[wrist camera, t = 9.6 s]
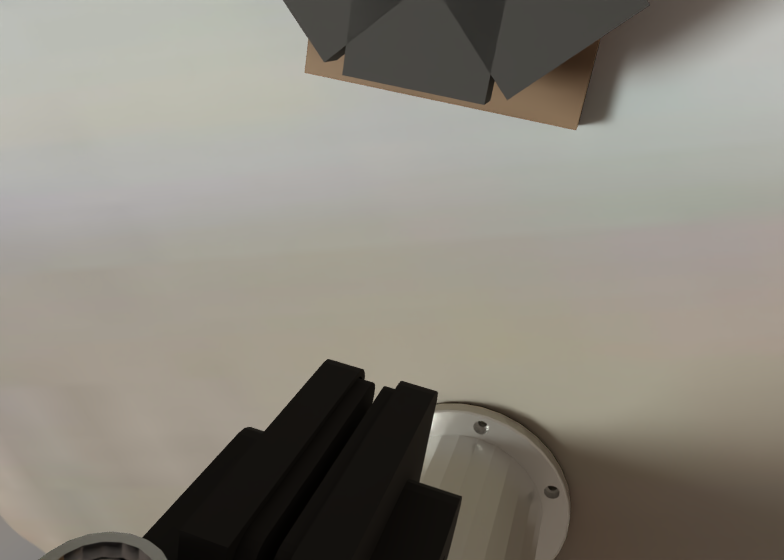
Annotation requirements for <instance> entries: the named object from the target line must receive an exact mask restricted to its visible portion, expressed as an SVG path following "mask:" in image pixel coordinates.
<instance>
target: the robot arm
mask: <svg viewBox="0 0 784 560" xmlns="http://www.w3.org/2000/svg"><path fill="white" fill-rule="evenodd" d="M364 379H365V372H364V370H363V369H360V368H357V367H354V366H350V365H347V364H344V363H340V362H337V361H333V360H330V359H327V360H326V361H325V362H324V363H323V364H322V365H321V366H320V367H319V369H318V370H317V371H316V372H315V373H314V374H313V376H312V377H311V378H310V379H309V380H308V381H307V383H306V384H305V385H304V386H303V387H302V388H301V389H300V391H299V392H298V393H297V394H296V395H295V396H294V398H293V399H292V400H291V401H290V402H289V403H288V405H287V406H286V407H285V408H284V409H283V410H282V411H281V413H280V414H279V415H278V416H277V417H276V418H275V420H274V421H273V422H272V423H271V424H270V425H269V427H268V428H267V429H266V430H265V431H261V430H258V429H255V428H252V427H247V428H244V429H243V430H242V431H241V432H239V433H238V434H237V435H236V436H235V438H234V439H233V440H232V441H231V442H230V443H229V444H228V445H227V446H226V447H225V448H224V449H223V451H222V452H221V453H220V454H219V455H218V456H217V457H216V458H215V459H214V460H213V461H212V463H211V464H210V465H209V466H208V467H207V468H206V469H205V470H204V471H203V472H202V473H201V474H200V476H199V477H198V478H197V479H196V480H195V481H194V482H193V483H192V484H191V485H190V486H189V487H188V489H187V490H186V491H185V492H184V493H183V494H182V495H181V496H180V497H179V498H178V499H177V501H176V502H175V503H174V504H173V505H172V506H171V507H170V508H169V509H168V510H167V511H166V512H165V514H164V515H163V516H162V517H161V518H160V519H159V520H158V521H157V522H156V523H155V524H154V526H153V527H152V528H151V529H150V530H149V531H148V532H147V533H146V534H145V535H144V536H143V537H142V538H141V537H138V536H136V535H133V534H128V533H118V532H104V533H94V534H88V535H85V536H82V537H79V538H75V539H72V540H69V541H67V542H65V543H64V544H62V545H60V546H58V547H57V548H55V549H53V550H51V551H50V552H48V553H47V554H45V555H44V556H43V557H41V558H40V559H39V560H554V558H555V557H556V556H557V555H558V553H559V552H560V550H561V548H562V546H563V544H564V541H565V539H566V537H567V532H568V527H569V522H570V508H571V502H570V495H569V489H568V485H567V482H566V479H565V477H564V474H563V472H562V469H561V467H560V466H559V464H558V462H557V461H556V459H555V458H554V456H553V455H552V453H551V452H550V450H549V449H548V448H547V447H546V446H545V445H544V444H543V443H542V442H541V441H540V440H539V439H538V437H537V436H535V435H534V434H533V433H531V432H530V431H529V430H528V429H526V428H525V427H524V426H522V425H521V424H520V423H518V422H516V421H514V420H512V419H510V418H508V417H507V416H505V415H503V414H501V413H498V412H495V411H492V410H489V409H486V408H483V407H479V406H473V405H467V404H437V405H436V403H437V396H438V392H437V391H434V390H431V389H427V388H424V387H421V386H417V385H414V384H411V383H407V382H404V381H400V383H399V384H398V385H397V387H396V389H393V388H389V387H386V386H384V387H383V388H382V390H381V391H380V393H379V394H378V396H377V397H376V399H375V400H374V402H373V398H374V392H375V384H374V383H373V382H369V381H366V380H364ZM372 403H373V404H372ZM481 421H483V422H485V423H482V422H481Z"/></svg>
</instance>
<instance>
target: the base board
mask: <svg viewBox="0 0 784 560" xmlns="http://www.w3.org/2000/svg"><path fill="white" fill-rule="evenodd" d="M600 39H601V38H600ZM600 39H598V40H597V41H595V42H594V43H592V44H591V45H589V46H588V47H586V48H585V49H583V50H582V51H580V52H579V53H577V54H576V55H574V56H573V57H571V58H570V59H568V60H567V61H565V62H564V63H562V64H561V65H559V66H558V67H556V68H555V69H553V70H552V71H550V72H549V73H547V74H546V75H544V76H543V77H541V78H540V79H538V80H537V81H535V82H534V83H532V84H531V85H529V86H528V87H526V88H525V89H523V90H522V91H520V92H519V93H517V94H516V95H514V96H513V97H512V98H510V99H509V100H506V98H505V96H504V95H503V93H502V92H501V90H500V88H499V87H498V85H497V84H496V82H494V87H493V91H492V96H491V101H489V102H488V103H486V104H485V105H482V104H477V103H472V102H467V101H463V100H458V99H453V98H448V97H444V96H439V95H434V94H429V93H425V92H420V91H415V90H410V89H406V88H401V87H396V86H391V85H386V84H382V83H377V82H372V81H367V80H363V79H358V78H353V77H348V76H344V75H342V72H343V65H344V57H345V54H344V55H343V56H342V57H341V58H339V59H338V60H335V61H330V62H323V60H322V59H321V57H320V56H319V54H318V52H317V51H316V49H315V48H314V46H313V45H312V43H311V42H310V40H309V39H308V47H307V56H306V65H305V73H309V74H313V75H318V76H323V77H327V78H332V79H337V80H342V81H346V82H351V83H356V84H360V85H365V86H370V87H375V88H379V89H384V90H389V91H393V92H398V93H403V94H408V95H412V96H417V97H422V98H427V99H431V100H436V101H441V102H445V103H450V104H455V105H460V106H464V107H469V108H474V109H478V110H483V111H488V112H493V113H497V114H502V115H507V116H511V117H516V118H521V119H526V120H530V121H535V122H540V123H544V124H549V125H554V126H559V127H563V128H568V129H573V130H576V129H577V127H578V124H579V120H580V116H581V112H582V108H583V104H584V100H585V97H586V93H587V89H588V85H589V81H590V77H591V73H592V69H593V66H594V62H595V58H596V54H597V50H598V46H599V42H600Z"/></svg>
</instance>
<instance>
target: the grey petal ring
mask: <svg viewBox="0 0 784 560" xmlns="http://www.w3.org/2000/svg"><path fill="white" fill-rule="evenodd" d="M283 1H284V2H285V4H286V5H287V7H288V9H289V10H290V12H291V13H292V15H293V16H294V18H295V19H296V21H297V22H298V24H299V25H300V27H301V28H302V30H303V31H304V33H305V34H306V36H307V37H308V39H309V40H310V42H311V43H312V45H313V46H314V48H315V49H316V51H317V52H318V54H319V56H320V57H321V59H322V60H323V62H330V61H335V60H338V59H339V58H341V57H342V56H343V55H344V54H345V57H344V65H343V72H342V75H344V76H348V77H353V78H358V79H363V80H367V81H372V82H377V83H382V84H386V85H391V86H396V87H401V88H406V89H410V90H415V91H420V92H425V93H429V94H434V95H439V96H444V97H448V98H453V99H458V100H463V101H467V102H472V103H477V104H482V105H485V104H486V103H488V102H489V101H491V96H492V91H493V87H494V82H496V84H497V85H498V87H499V88H500V90H501V92H502V93H503V95H504V96H505V98H506V100H509V99H510V98H512V97H513V96H514V95H516V94H517V93H519V92H520V91H522V90H523V89H525V88H526V87H528V86H529V85H531V84H532V83H534V82H535V81H537V80H538V79H540V78H541V77H543V76H544V75H546V74H547V73H549V72H550V71H552V70H553V69H555V68H556V67H558V66H559V65H561V64H562V63H564V62H565V61H567V60H568V59H570V58H571V57H573V56H574V55H576V54H577V53H579V52H580V51H582V50H583V49H585V48H586V47H588V46H589V45H591V44H592V43H594V42H595V41H597V40H598V39H600V38H601V37H603V36H604V35H606V34H607V33H609V32H610V31H612V30H613V29H615V28H616V27H618V26H619V25H621V24H622V23H624V22H625V21H627V20H628V19H630V18H631V17H633V16H634V15H636V14H637V13H639V12H640V11H642V10H643V9H645V8H646V7H648V6H649V5H650V4H649V2H648V0H283Z"/></svg>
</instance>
